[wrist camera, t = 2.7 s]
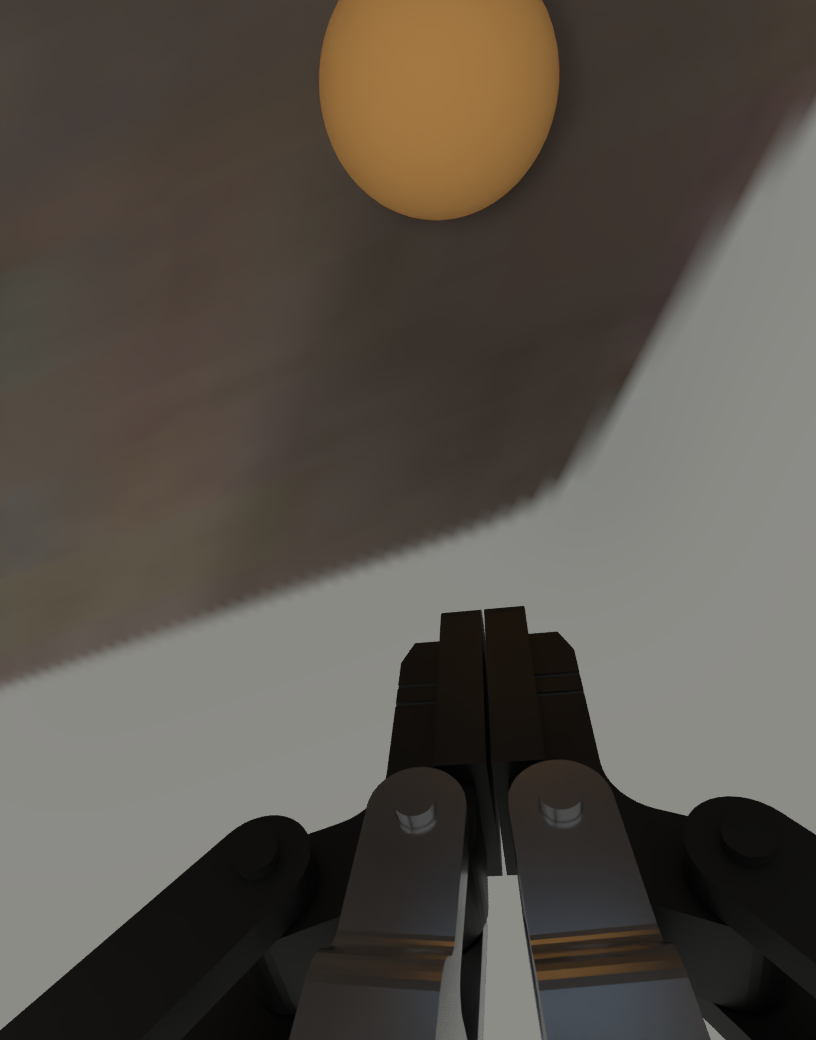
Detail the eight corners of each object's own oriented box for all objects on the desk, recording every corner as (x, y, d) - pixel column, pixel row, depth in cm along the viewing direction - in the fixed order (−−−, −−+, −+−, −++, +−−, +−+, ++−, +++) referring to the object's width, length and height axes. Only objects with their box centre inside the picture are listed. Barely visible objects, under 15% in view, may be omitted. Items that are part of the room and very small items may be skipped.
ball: (320, -3, 19) (262, -72, 13) (537, -52, 18) (568, -146, 12) (361, 228, 21) (327, 248, 16) (551, 195, 20) (582, 205, 15)
